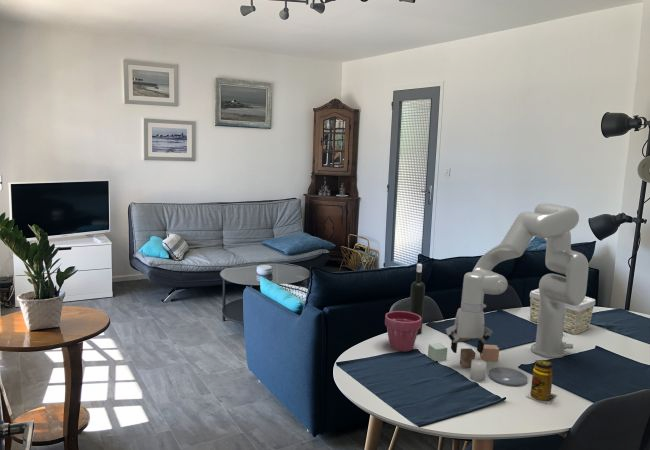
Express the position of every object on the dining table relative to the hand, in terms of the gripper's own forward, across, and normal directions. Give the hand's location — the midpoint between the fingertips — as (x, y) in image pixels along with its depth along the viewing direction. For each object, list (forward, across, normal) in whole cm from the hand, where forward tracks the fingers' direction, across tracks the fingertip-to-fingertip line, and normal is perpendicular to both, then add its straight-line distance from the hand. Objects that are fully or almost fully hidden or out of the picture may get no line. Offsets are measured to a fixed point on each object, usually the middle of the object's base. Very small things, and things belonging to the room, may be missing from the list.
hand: (466, 351), depth 193 cm
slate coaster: (+5, -12, +10) cm, 16 cm away
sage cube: (+6, +8, -7) cm, 12 cm away
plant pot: (+6, +19, -18) cm, 27 cm away
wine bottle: (+6, +9, -34) cm, 36 cm away
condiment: (+6, -17, +23) cm, 29 cm away
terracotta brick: (+5, -12, -6) cm, 14 cm away
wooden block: (+5, -9, -26) cm, 28 cm away
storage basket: (+4, -61, -42) cm, 74 cm away
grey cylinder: (+6, -1, +10) cm, 11 cm away
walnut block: (+6, -1, 0) cm, 6 cm away
